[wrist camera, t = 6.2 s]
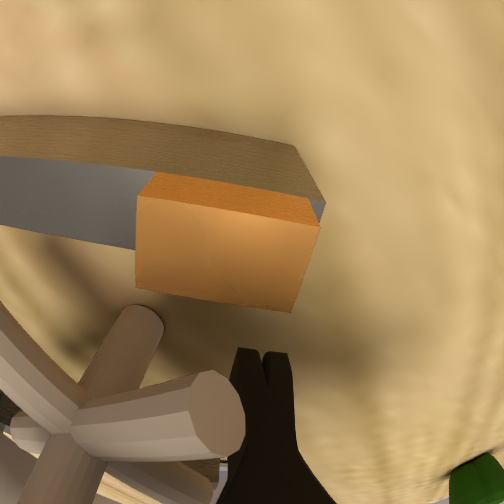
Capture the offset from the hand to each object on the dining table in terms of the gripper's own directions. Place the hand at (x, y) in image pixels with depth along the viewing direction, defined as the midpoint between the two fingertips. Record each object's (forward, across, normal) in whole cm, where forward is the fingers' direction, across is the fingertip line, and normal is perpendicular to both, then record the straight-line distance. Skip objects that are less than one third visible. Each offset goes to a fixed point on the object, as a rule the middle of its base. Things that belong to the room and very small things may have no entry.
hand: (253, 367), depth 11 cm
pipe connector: (+2, +4, +1) cm, 5 cm away
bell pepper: (+2, -33, +22) cm, 40 cm away
